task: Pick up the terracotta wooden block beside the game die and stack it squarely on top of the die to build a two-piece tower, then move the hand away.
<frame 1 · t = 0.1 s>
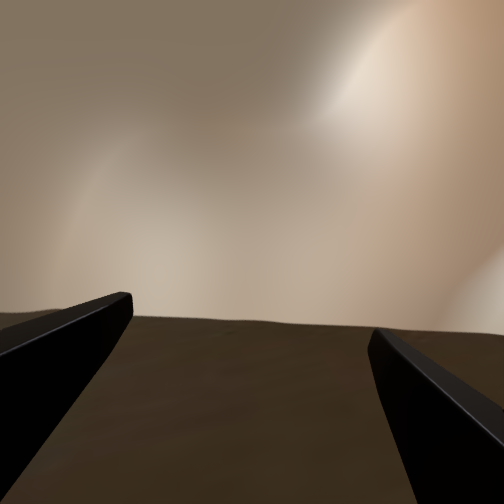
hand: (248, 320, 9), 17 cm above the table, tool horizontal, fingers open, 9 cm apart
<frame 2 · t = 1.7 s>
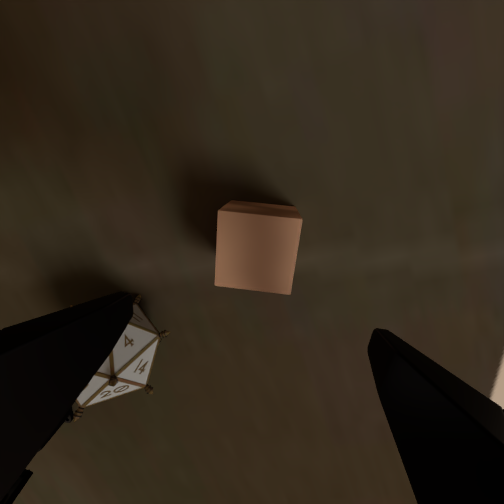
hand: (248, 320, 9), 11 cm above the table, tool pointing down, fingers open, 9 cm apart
terracotta block: (259, 233, 20), on the table
game die: (138, 319, 24), on the table
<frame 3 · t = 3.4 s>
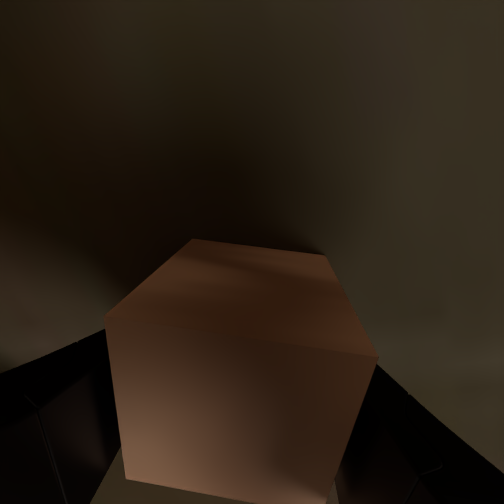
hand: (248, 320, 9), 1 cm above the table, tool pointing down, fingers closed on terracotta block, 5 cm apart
terracotta block: (251, 304, 10), on the table, touching gripper
when the fingers open (9 cm above the table, at t = 6.7 s): terracotta block stays where it is, resting on game die.
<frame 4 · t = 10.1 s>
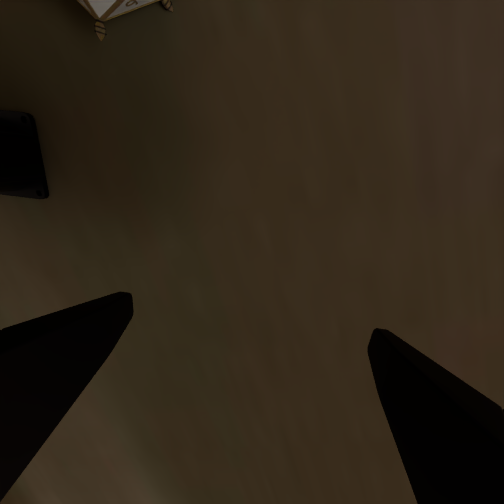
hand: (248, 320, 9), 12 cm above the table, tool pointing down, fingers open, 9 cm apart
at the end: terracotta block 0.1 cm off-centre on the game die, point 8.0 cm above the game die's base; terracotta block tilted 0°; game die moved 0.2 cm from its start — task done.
